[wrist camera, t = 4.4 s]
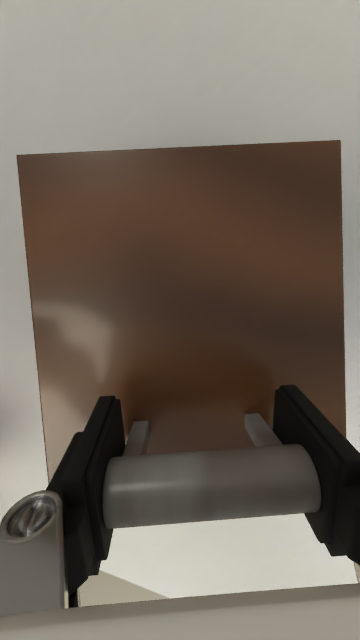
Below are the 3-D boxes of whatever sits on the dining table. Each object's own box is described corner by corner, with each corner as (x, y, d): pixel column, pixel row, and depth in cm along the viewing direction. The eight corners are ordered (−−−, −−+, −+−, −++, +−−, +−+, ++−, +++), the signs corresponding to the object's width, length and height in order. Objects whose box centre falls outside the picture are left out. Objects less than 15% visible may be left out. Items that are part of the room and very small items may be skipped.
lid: (336, 455, 13) (460, 570, 7) (56, 476, 13) (-36, 613, 7) (330, 149, 12) (466, 16, 6) (26, 164, 12) (-108, 37, 6)
